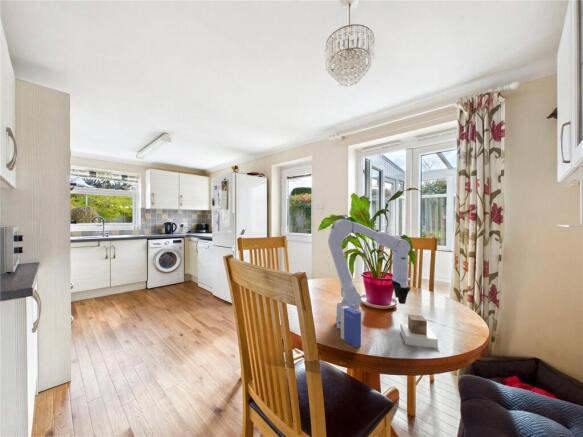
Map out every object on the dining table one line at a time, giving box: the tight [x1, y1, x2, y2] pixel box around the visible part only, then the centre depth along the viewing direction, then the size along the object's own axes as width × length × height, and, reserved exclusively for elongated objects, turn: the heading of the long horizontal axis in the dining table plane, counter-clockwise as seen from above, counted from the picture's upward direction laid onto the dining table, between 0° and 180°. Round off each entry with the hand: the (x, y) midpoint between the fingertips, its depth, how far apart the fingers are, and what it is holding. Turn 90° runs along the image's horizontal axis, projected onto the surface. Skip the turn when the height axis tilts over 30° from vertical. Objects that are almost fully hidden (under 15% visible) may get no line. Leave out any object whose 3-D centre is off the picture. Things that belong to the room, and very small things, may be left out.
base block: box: [399, 323, 439, 349], centre depth 90 cm, size 10×10×3 cm
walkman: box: [340, 306, 362, 348], centre depth 88 cm, size 8×3×12 cm, turn 26°
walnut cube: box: [407, 313, 428, 335], centre depth 90 cm, size 5×5×5 cm
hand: (400, 300), depth 101 cm, fingers open, 7 cm apart
